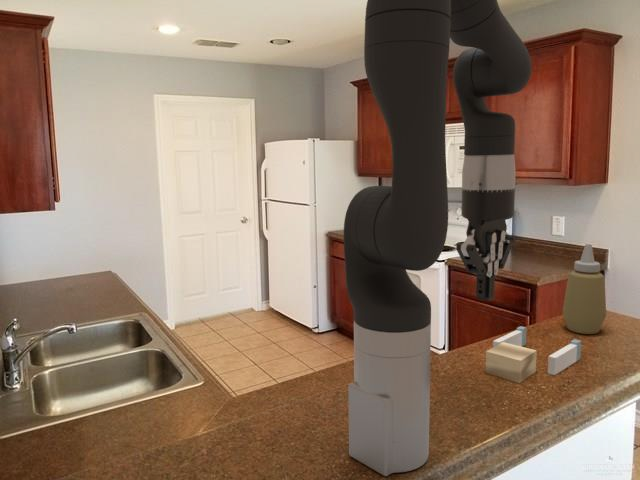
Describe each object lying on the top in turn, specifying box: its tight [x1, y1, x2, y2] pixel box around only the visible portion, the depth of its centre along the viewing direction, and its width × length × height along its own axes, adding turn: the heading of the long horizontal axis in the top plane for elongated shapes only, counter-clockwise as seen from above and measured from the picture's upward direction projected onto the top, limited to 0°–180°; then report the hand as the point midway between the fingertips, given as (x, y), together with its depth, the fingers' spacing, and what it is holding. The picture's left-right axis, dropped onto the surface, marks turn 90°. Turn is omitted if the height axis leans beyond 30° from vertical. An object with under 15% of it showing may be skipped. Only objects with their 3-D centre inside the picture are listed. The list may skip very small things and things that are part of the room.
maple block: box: [484, 342, 538, 384], centre depth 88 cm, size 6×6×4 cm
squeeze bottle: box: [562, 244, 607, 335], centre depth 107 cm, size 8×8×18 cm
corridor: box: [492, 325, 582, 376], centre depth 94 cm, size 10×11×3 cm
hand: (485, 298), depth 80 cm, fingers closed
